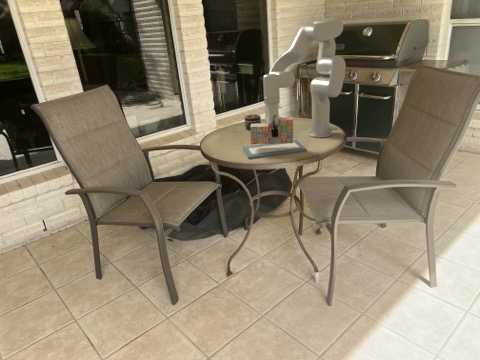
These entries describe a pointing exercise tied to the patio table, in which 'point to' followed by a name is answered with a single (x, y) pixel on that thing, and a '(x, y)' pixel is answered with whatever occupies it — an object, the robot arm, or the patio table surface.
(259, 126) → the stack of blocks
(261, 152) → the board
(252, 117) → the jar
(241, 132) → the patio table surface
